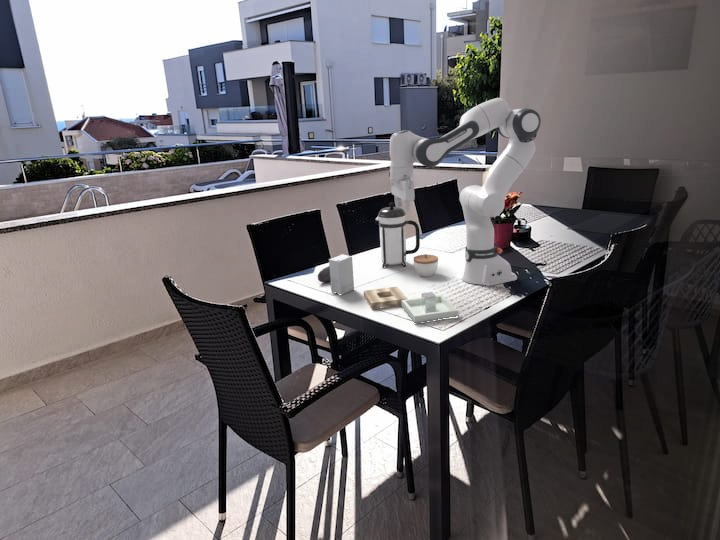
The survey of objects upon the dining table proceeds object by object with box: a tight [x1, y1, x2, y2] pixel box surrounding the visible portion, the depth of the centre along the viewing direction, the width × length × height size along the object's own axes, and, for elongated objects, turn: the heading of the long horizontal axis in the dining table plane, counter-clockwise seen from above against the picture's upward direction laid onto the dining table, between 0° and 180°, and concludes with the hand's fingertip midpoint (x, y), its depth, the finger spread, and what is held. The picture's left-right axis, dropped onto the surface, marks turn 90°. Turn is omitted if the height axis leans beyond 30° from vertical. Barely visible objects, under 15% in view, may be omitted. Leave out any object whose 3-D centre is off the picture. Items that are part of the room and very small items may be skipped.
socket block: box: [363, 286, 409, 310], centre depth 191 cm, size 14×14×2 cm
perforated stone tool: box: [317, 265, 331, 283], centre depth 217 cm, size 15×5×7 cm, turn 127°
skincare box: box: [328, 253, 355, 295], centre depth 201 cm, size 8×6×15 cm
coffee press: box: [375, 201, 421, 269], centre depth 231 cm, size 17×16×30 cm
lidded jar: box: [413, 253, 439, 278], centre depth 217 cm, size 11×11×9 cm
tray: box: [401, 294, 460, 324], centre depth 177 cm, size 16×16×3 cm
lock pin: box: [421, 291, 436, 313], centre depth 176 cm, size 4×4×6 cm
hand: (402, 209), depth 195 cm, fingers open, 8 cm apart
